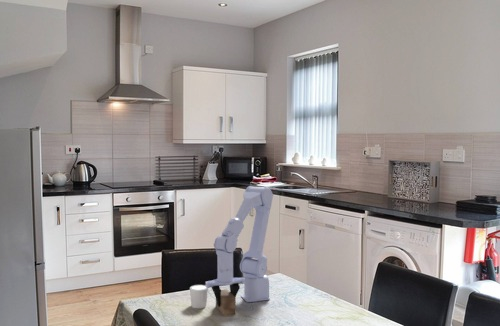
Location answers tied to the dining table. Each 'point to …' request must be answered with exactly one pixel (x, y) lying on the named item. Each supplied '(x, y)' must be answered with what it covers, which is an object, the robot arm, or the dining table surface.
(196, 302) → the white cylinder
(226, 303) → the walnut block
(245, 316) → the dining table surface
